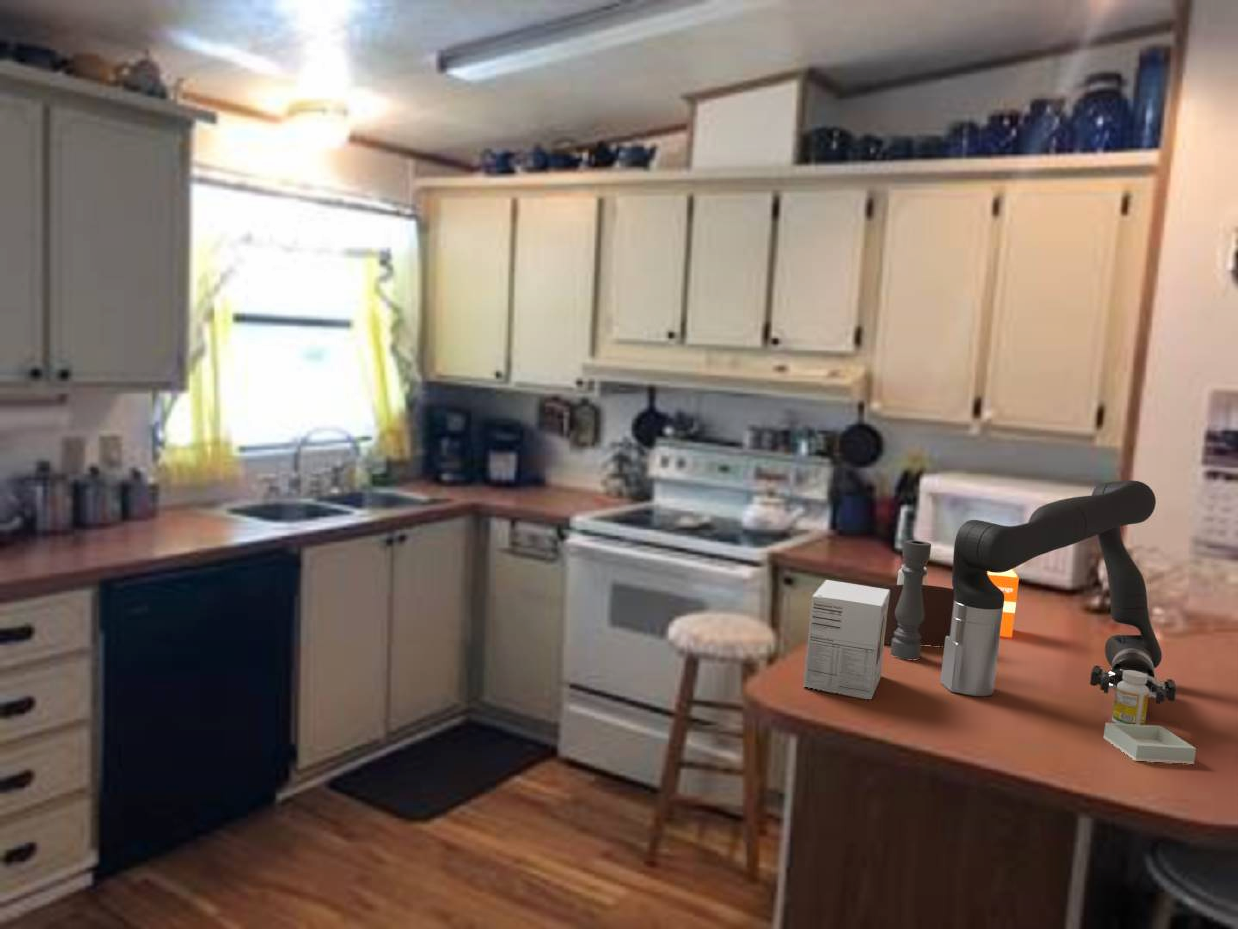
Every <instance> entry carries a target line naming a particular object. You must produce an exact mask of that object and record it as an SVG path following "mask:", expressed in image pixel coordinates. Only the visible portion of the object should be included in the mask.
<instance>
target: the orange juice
mask: <svg viewBox="0 0 1238 929" xmlns="http://www.w3.org/2000/svg"><path fill="white" fill-rule="evenodd" d="M987 573H988V576H989V578H990V580H991V581H992V582H993V583H994V584H995V585H996V586H997V587H998V588H999V589H1000V590H1001V591H1002V592H1003V593H1004V607H1003V615H1002V622H1001V631H1000V637H1005V638H1013V630H1014V622H1015V613H1016V606H1017V598H1018V589H1019V581H1020V580H1019V579H1020V577H1018V575H1017V573H1016V571H1015V568H1013V569H1011V570H1009V571H1006V572H1002V573H993V572H989V571H987Z"/></svg>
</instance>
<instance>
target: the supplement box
mask: <svg viewBox="0 0 1238 929" xmlns="http://www.w3.org/2000/svg"><path fill="white" fill-rule="evenodd" d="M889 597H890V590H889V589H882V588H881V587H873V586H869V585H862V584H856V583H850V582H843V581H837V580H836V581H835V580H830V579H825V580H824V581H823V583H822V584H821V585H820V586H818V588H817V589H816V591H815V592H814V593H813V594H812V597H811V606H810V615H809V626H808V636H807V637H808V638H807V647H806V648H807V649H806V657H805V669H804V678H803V680H804V681H803V688H804V687H809V688H808V689H810V688H813V689H812V690H815V689H817V691H820V690H822V691H821V692H827V693H831V694H836V693H838V694H837V695H841V694H842V696H847V697H852V698H859V699H863V700H867V699H869V700H868V701H871V700H872V698H873V696H874V693H875V691H876V689H877V687H878V685H879V683H880V680H881V678H882V671H883V670H882V666H883V655H884V646H885V644H884V638H885V629H886V620H887V611H888V604H889ZM870 699H871V700H870Z"/></svg>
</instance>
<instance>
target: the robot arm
mask: <svg viewBox="0 0 1238 929" xmlns="http://www.w3.org/2000/svg"><path fill="white" fill-rule="evenodd" d="M1156 501H1157V500H1156V495H1155V492H1154V491H1153V490H1152V488H1151V487H1150V486H1149V485H1147V483H1145V482H1142V481H1139V480H1133V479H1131V480H1120V481H1110V482H1102V483H1100V484H1099V483H1098V484H1097V485H1096V487H1094V489H1093V491H1092V493H1091V495H1082V496H1073V497H1069V498H1064V499H1059V500H1055V501H1053V502H1049V503H1046V504H1044V505H1041V506H1039V507H1038V508H1036V510H1034V511H1033V512H1032V513H1031V515H1030V518H1029V519H1028V522H1026V523H1021V524H1018V525H1002V524H997V523H995V522H994V523H992V522H990V521H989V522H988V521H984V520H979V519H970V520H967V521H965V522H964V523H963V524H961V526H960V528H959V529H958V530H957V534H956V536H955V540H954V545H953V558H952V577H951V584H952V589H953V590H954V602H953V611H952V619H951V628H950V636H946V637H945V645H944V648H943V656H942V661H941V663H942V664H941V673H940V681H939V682H940V684H942V685H943V686H944V687H945V688H946V689H948V690H949V691H950V692H951V693H958V694H963V695H968V696H974V697H986V696H991V695H993V694H994V690H995V684H996V683H995V681H996V680H995V679H996V673H997V662H998V656H999V655H998V654H999V646H1000V637H1001V636H1000V631H1001V622H1002V615H1003V607H1004V593H1003V592H1002V591H1001V590H1000V589H999V588H998V587H997V586H996V585H995V584H994V583H993V582H992V581H991V580H990V578H989V576H988V573H987V571H989V572H993V573H1002V572H1006V571H1009V570H1011V569H1015V568H1017V567H1019V566H1021V565H1023V564H1025V563H1026V562H1029V561H1030V560H1033V559H1034V558H1036V557H1040V556H1042V555H1045V554H1048V553H1050V552H1052V551H1056V550H1059V549H1064V548H1065V547H1069V546H1072V545H1076V544H1077V543H1079V542H1082V541H1084V540H1088V539H1090V538H1093V537H1095V536H1097V538H1098V539H1097V540H1098V542H1099V546H1100V550H1101V554H1102V557H1103V561H1104V565H1105V569H1106V574H1107V580H1108V590H1109V592H1108V593H1109V602H1110V603H1109V604H1110V612H1111V613H1110V614H1111V618H1112V621H1114V622H1115V623H1118V624H1123V625H1128V626H1133V627H1134V628H1136V629H1137V630H1138V631H1139V633H1140V634H1125V635H1124V634H1117V635H1112V636H1110V637H1109V638H1108V639H1107V640H1106V642H1105V645H1104V653H1105V654H1104V655H1105V658H1106V660H1107V662H1108V664H1109V665H1110V667H1111V668H1110V670H1108V671H1105V670H1104V668H1102V666H1099V665H1093V667H1092V670H1091V674H1090V681H1089V685H1091V686H1092V687H1095V686H1096V687H1097V686H1098V685H1099V690H1101V691H1103V694H1107V695H1108V694H1109V689H1110V690H1112V691H1116V689H1117V684H1118V683H1119V682H1121V681H1124V680H1123V678H1122V676H1123V671H1125V670H1133V671H1138V672H1141V673H1144V674H1146V675H1147V683H1146V684H1145V686H1147V687H1148V689H1149V698H1155V699H1154V700H1155V704H1158V705H1161V703H1165V700H1166V699H1167V701H1169V702H1175V701H1176V695H1177V693H1176V692H1177V689H1178V688H1177V685H1176V682H1175V680H1173V679H1171V678H1169V679H1168V678H1167V679H1166V680H1164V681H1159V679H1157V677H1156V676H1155V669H1156V668H1158V667H1159V666H1160V664H1161V662H1162V659H1163V658H1162V657H1163V654H1162V649H1161V646H1160V643H1159V641H1158V639H1157V637H1156V634H1155V632H1154V629H1153V626H1152V623H1151V620H1150V614H1149V608H1148V607H1149V605H1148V596H1147V587H1146V584H1145V583H1146V582H1145V579H1144V577H1143V574H1142V572H1141V571H1140V569H1139V567H1137V565H1136V563H1135V562H1134V560H1133V559H1132V558H1131V557H1132V556H1130V554H1129V552H1128V551H1127V548H1126V546H1125V545H1124V542H1123V539H1122V533H1121V527H1123V526H1128V525H1135V524H1136V525H1137V524H1140V523H1145V521H1147V520H1149V518H1150V517H1151V516H1152V514H1153V513H1154V511H1155V508H1156V503H1157V502H1156Z"/></svg>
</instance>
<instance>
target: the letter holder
mask: <svg viewBox="0 0 1238 929" xmlns="http://www.w3.org/2000/svg"><path fill="white" fill-rule="evenodd" d="M880 588H882V589H889V590H890V597H889V604H888V611H887V620H886V629H885V638H884V643H889V644H888V645H891V643H892V638H894V637H895V636H894V631H896V629H897V628H898V627H899V625H898V623H899V622H898V621H897V619H896V616H895V609H896V607H897V604H898V601H899V599H900V596H901V593H902V590H903V585H897V584H890V585H883V586H880ZM922 599H923V607H924V614H925V615H924V620H923V621H922V623H921V624H919V628H918V629H917V630H918V632H919V634H920V635H921V639H920V640H919V641H920V642H921V645H931V646H940V647H939V648H941V647H942V646H943V647H944V645H945V637H946V636H950V628H951V619H952V611H953V602H954V590H953V588H951V587H944V586H936V585H929V584H928V585H922Z"/></svg>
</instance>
